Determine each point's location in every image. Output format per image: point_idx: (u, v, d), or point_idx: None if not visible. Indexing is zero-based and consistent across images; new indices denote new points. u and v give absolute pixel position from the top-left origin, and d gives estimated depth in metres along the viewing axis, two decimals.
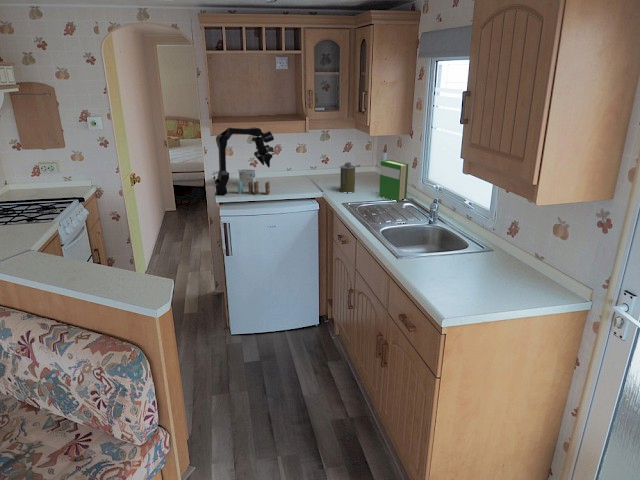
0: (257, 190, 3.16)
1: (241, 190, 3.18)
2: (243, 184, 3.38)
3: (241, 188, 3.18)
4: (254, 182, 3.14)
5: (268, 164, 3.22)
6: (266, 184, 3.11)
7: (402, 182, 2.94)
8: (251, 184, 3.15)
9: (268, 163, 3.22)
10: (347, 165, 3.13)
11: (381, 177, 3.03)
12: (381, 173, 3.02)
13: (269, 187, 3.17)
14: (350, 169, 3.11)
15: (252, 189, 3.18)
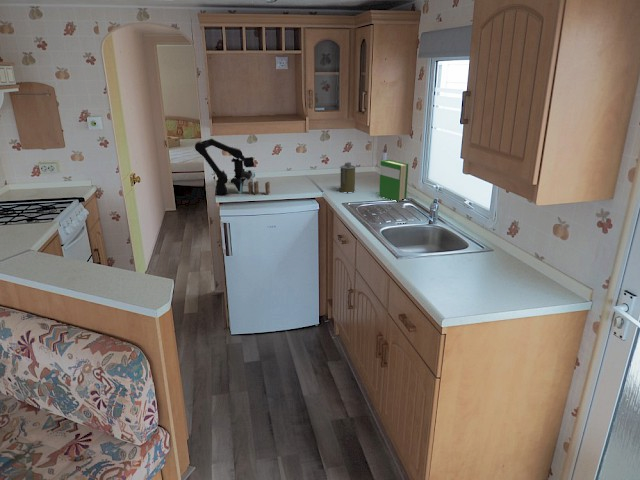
0: (257, 190, 3.16)
1: (241, 190, 3.18)
2: (243, 184, 3.38)
3: (241, 188, 3.18)
4: (254, 182, 3.14)
5: (238, 188, 3.14)
6: (266, 184, 3.11)
7: (402, 182, 2.94)
8: (251, 184, 3.15)
9: (238, 187, 3.14)
10: (347, 165, 3.13)
11: (381, 177, 3.03)
12: (381, 173, 3.02)
13: (269, 187, 3.17)
14: (350, 169, 3.11)
15: (252, 189, 3.18)
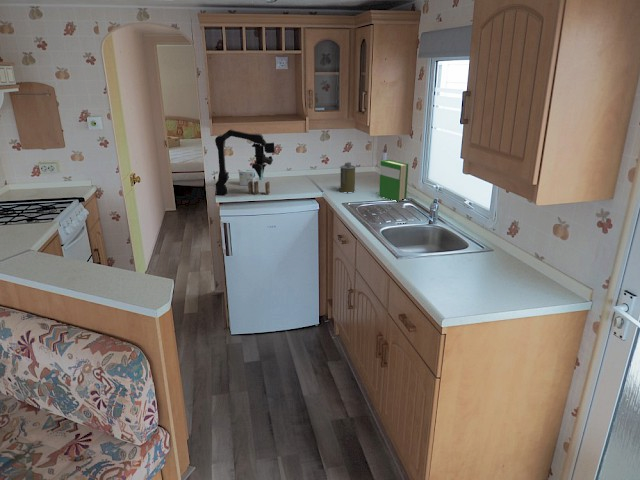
0: (257, 190, 3.16)
1: (262, 176, 3.12)
2: (243, 184, 3.38)
3: (262, 174, 3.12)
4: (254, 182, 3.14)
5: (259, 174, 3.08)
6: (266, 184, 3.11)
7: (402, 182, 2.94)
8: (251, 184, 3.15)
9: (259, 173, 3.08)
10: (347, 165, 3.13)
11: (381, 177, 3.03)
12: (381, 173, 3.02)
13: (269, 187, 3.17)
14: (350, 169, 3.11)
15: (252, 189, 3.18)
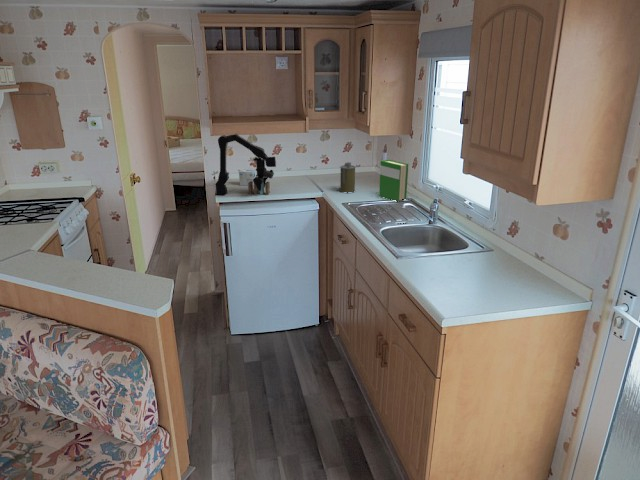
0: (257, 190, 3.16)
1: (263, 191, 3.16)
2: (243, 184, 3.38)
3: (263, 189, 3.16)
4: None
5: (259, 188, 3.10)
6: (266, 184, 3.11)
7: (402, 182, 2.94)
8: (251, 184, 3.15)
9: (259, 187, 3.10)
10: (347, 165, 3.13)
11: (381, 177, 3.03)
12: (381, 173, 3.02)
13: (269, 187, 3.17)
14: (350, 169, 3.11)
15: (252, 189, 3.18)
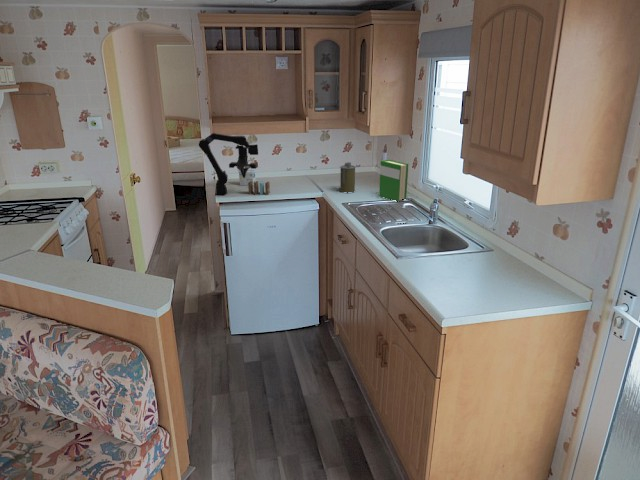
0: (257, 190, 3.16)
1: (263, 191, 3.16)
2: (243, 184, 3.38)
3: (263, 189, 3.16)
4: (254, 182, 3.14)
5: None
6: (266, 184, 3.11)
7: (402, 182, 2.94)
8: (251, 184, 3.15)
9: None
10: (347, 165, 3.13)
11: (381, 177, 3.03)
12: (381, 173, 3.02)
13: (269, 187, 3.17)
14: (350, 169, 3.11)
15: (252, 189, 3.18)
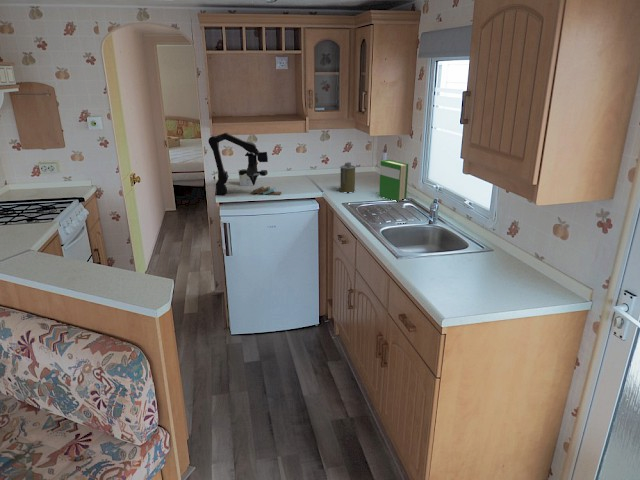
0: None
1: None
2: (243, 184, 3.38)
3: None
4: (268, 187, 3.14)
5: None
6: (278, 194, 3.13)
7: (402, 182, 2.94)
8: None
9: None
10: (347, 165, 3.13)
11: (381, 177, 3.03)
12: (381, 173, 3.02)
13: None
14: (350, 169, 3.11)
15: None
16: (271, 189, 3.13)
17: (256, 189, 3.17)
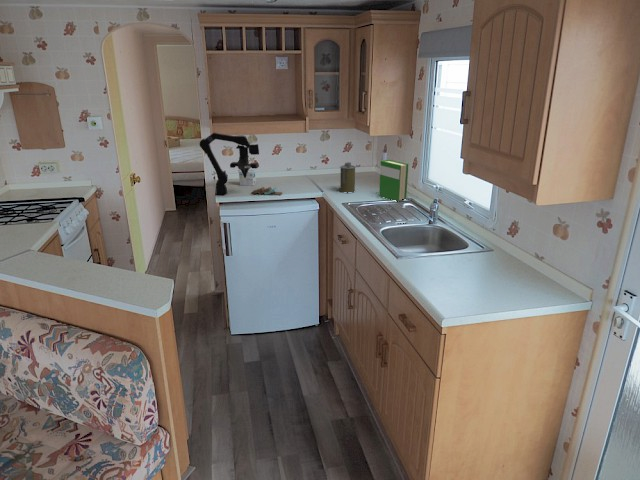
0: None
1: None
2: (243, 184, 3.38)
3: None
4: (269, 188, 3.13)
5: None
6: (279, 195, 3.12)
7: (402, 182, 2.94)
8: (261, 190, 3.15)
9: None
10: (347, 165, 3.13)
11: (381, 177, 3.03)
12: (381, 173, 3.02)
13: None
14: (350, 169, 3.11)
15: None
16: (272, 189, 3.13)
17: (257, 189, 3.16)
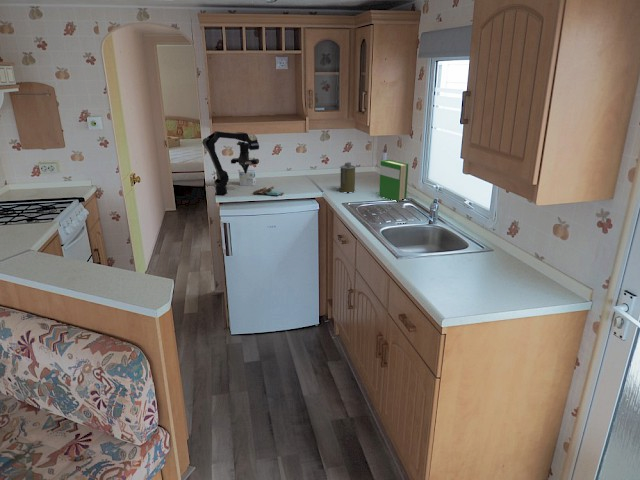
0: (266, 192, 3.15)
1: None
2: (243, 184, 3.38)
3: None
4: (270, 187, 3.11)
5: None
6: (280, 195, 3.12)
7: (402, 182, 2.94)
8: (263, 190, 3.15)
9: None
10: (347, 165, 3.13)
11: (381, 177, 3.03)
12: (381, 173, 3.02)
13: None
14: (350, 169, 3.11)
15: None
16: (275, 192, 3.10)
17: None
